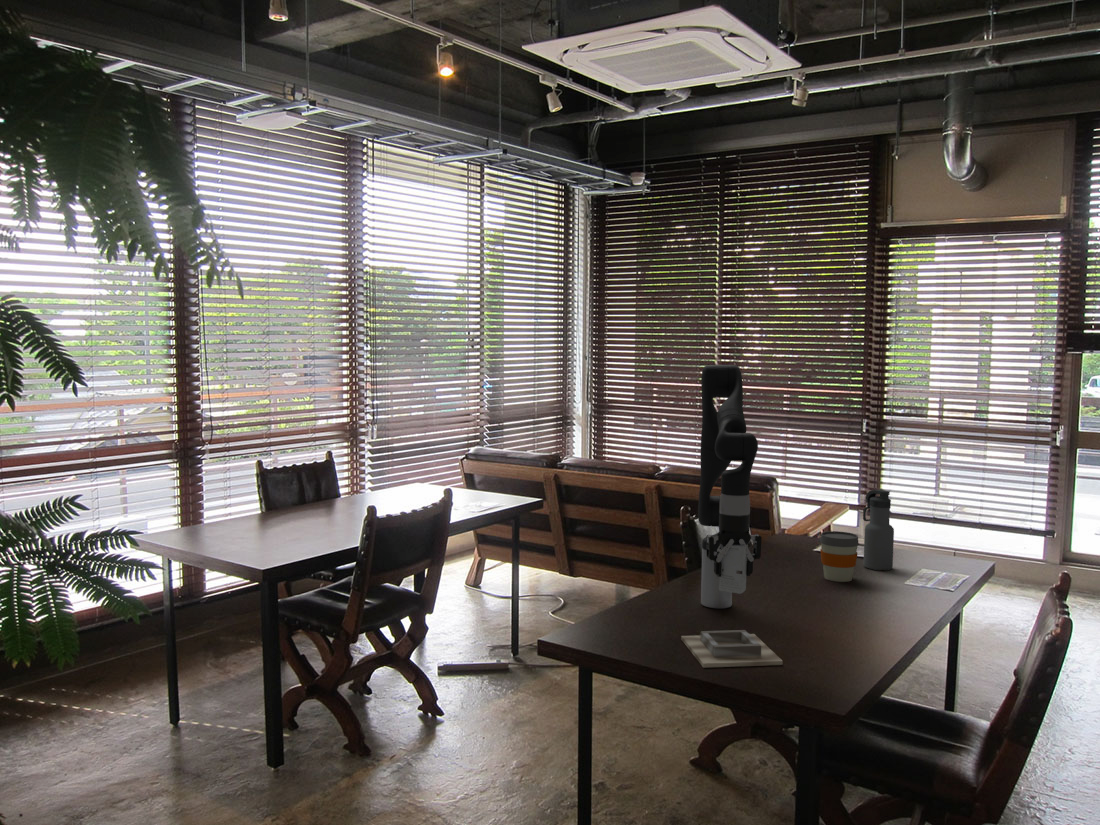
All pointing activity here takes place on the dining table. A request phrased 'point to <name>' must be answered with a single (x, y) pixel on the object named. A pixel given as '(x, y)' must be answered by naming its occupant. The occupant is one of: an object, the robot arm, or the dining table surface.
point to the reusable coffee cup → (838, 555)
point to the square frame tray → (730, 649)
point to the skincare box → (734, 569)
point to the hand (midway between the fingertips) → (733, 575)
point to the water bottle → (878, 532)
